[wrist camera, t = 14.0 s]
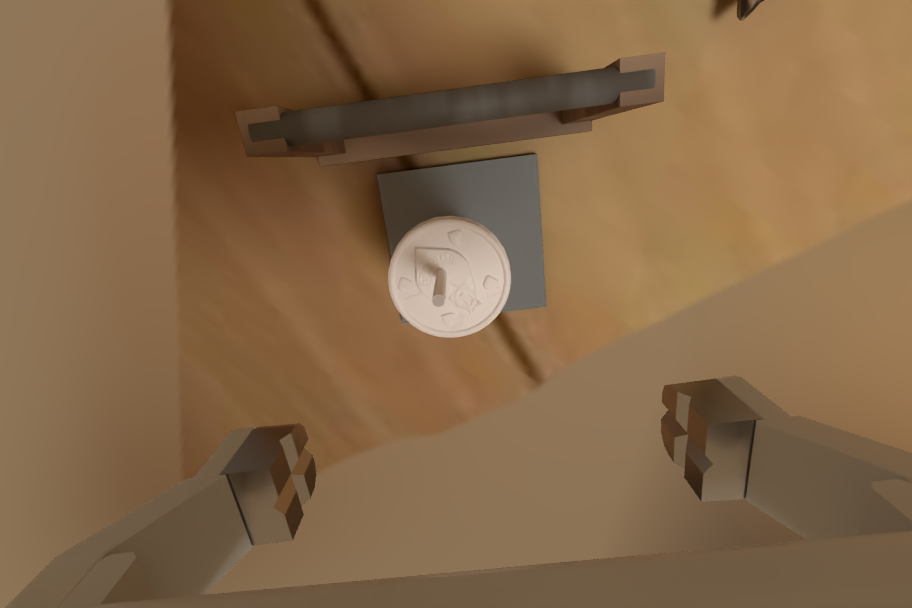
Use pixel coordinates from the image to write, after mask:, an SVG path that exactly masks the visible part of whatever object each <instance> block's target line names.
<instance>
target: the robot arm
mask: <svg viewBox="0 0 912 608" xmlns="http://www.w3.org/2000/svg"><path fill="white" fill-rule="evenodd" d="M662 403H663V404H664V405H665V406H666V408H667V409H668V411H667V412H666V414H665V415H664V416H663V418H662V419H661V434H662V439H663V443H664V446H665V449H666V451H667V453H668V455H669V456H670V458H671V459H672V461H673V462H674V463H676V464H678V465H679V466H681V467H683V468H685V472H684V478H685V479H686V481H687V482H688V484H689V485H690V486H691V488H692V489H693V491H694V492H695V494H696V495H697V496H698V498H699V499H700V500H701V502H704V501H719V500H734V499H746V501H747V502H749V503H750V504H752V505H753V506H755V507H756V508H758V509H759V510H761V511H763V512H764V513H766V514H767V515H769V516H770V517H772V518H774V519H775V520H777V521H778V522H780V523H781V524H783V525H785V526H786V527H788V528H789V529H791V530H792V531H794V532H796V533H797V534H799V535H800V536H802V537H803V538H805V539H806V540H803V541H793V542H782V543H772V544H760V545H749V546H738V547H727V548H715V549H705V550H693V551H682V552H671V553H660V554H650V555H638V556H626V557H616V558H604V559H593V560H582V561H571V562H560V563H549V564H538V565H528V566H516V567H506V568H495V569H484V570H473V571H463V572H452V573H441V574H429V575H418V576H407V577H396V578H386V579H375V580H363V581H352V582H342V583H330V584H319V585H308V586H297V587H286V588H274V589H263V590H252V591H241V592H231V593H220V594H208V595H206V594H207V593H208V592H209V591H210V590H211V589H212V588H213V587H214V586H215V585H216V584H217V583H218V582H219V581H220V580H221V579H222V578H223V577H224V576H225V575H226V574H227V573H228V572H229V571H230V570H231V569H232V568H233V567H234V566H235V565H236V564H237V563H238V562H239V561H240V560H241V559H242V558H243V557H244V556H245V555H246V554H247V553H248V552H249V551H250V550H251V549H252V546H253V545H260V544H269V543H277V542H285V541H292V540H293V539H294V537H295V534H296V532H297V530H298V527H299V525H300V523H301V519H302V518H303V515H304V514H303V510H302V507H301V506H302V505H303V504H305V503H306V502H307V501H308V500H309V499H311V496H312V494H313V491H314V488H315V482H316V465H315V461H314V457H313V455H312V454H311V453H310V452H308V451H307V450H306V449H305V448H304V447H305V445H306V443H307V441H308V437H307V433H306V430H305V427H304V426H302V425H301V424H300V423H298V424H287V425H275V426H263V427H251V428H243V429H237V430H234V431H231V432H230V434H229V435H228V436H227V437H226V439H225V440H224V441H223V442H222V444H221V445H220V446H219V447H218V448H217V450H216V451H215V452H214V453H213V455H212V456H211V457H210V458H209V460H208V461H207V462H206V463H205V464H204V466H203V467H202V468H201V469H200V471H199V472H198V473H197V474H196V476H195V477H194V478H188V479H185V480H183V481H182V482H180V483H179V484H177V485H175V486H174V487H172V488H170V489H168V490H167V491H165V492H163V493H162V494H160V495H158V496H157V497H155V498H154V499H152V500H150V501H148V502H147V503H145V504H143V505H142V506H140V507H138V508H137V509H135V510H133V511H132V512H130V513H128V514H127V515H125V516H124V517H122V518H120V519H118V520H117V521H115V522H113V523H112V524H110V525H108V526H107V527H105V528H103V529H102V530H100V531H98V532H97V533H95V534H93V535H92V536H90V537H88V538H87V539H85V540H83V541H82V542H80V543H78V544H77V545H75V546H73V547H72V548H70V549H69V550H67V551H65V552H63V553H62V554H60V555H58V556H57V557H55V558H54V559H53V560H52V561H51V562H50V563H49V564H48V565H47V566H46V567H45V568H44V569H43V570H42V571H41V572H40V573H39V574H38V575H37V576H36V577H35V578H34V579H33V580H32V581H31V582H30V583H29V584H28V585H27V586H26V587H25V588H24V589H23V590H22V591H21V592H20V594H18V595H17V596H16V597H15V599H14V600H13V601H11V602H10V603H9V604H8V605H7V607H6V608H912V453H910V452H907V451H904V450H901V449H898V448H895V447H892V446H889V445H886V444H883V443H880V442H877V441H874V440H871V439H868V438H865V437H862V436H859V435H856V434H853V433H850V432H847V431H843V430H841V429H838V428H834V427H832V426H828V425H825V424H822V423H819V422H816V421H813V420H810V419H807V418H804V417H801V416H793V417H791V416H790V415H789V414H787V413H786V412H785V411H783V410H782V409H781V408H780V407H779V406H777V405H776V404H775V403H773V402H772V401H771V400H769V399H768V398H767V397H766V396H765V395H763V394H762V393H761V392H759V391H758V390H757V389H756V388H754V387H753V386H752V385H751V384H749V383H748V382H747V381H745V380H744V379H743V378H741V377H738V376H729V377H722V378H715V379H710V380H702V381H694V382H687V383H678V384H671V385H665V386H664V389H663V392H662Z"/></svg>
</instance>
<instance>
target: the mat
mask: <svg viewBox="0 0 912 608" xmlns="http://www.w3.org/2000/svg"><path fill="white" fill-rule="evenodd" d="M377 180H378V186H379V192H380V197H381V203H382V209H383V214H384V220H385V226H386V231H387V237H388V243H389V249H390V254H391V259H392V256H393V254H394V251H395V249H396V246H397V245H398V243H399V242H400V241H401V239H402V238H403V237H404V236H405V234H406V233H407V232H408V231H410V230H411V229H412V228H414V227H415V226H417V225H418V224H419V223H421V222H424V221H427V220H429V219H432V218H434V217H442V216H457V217H463V218H469V219H471V220H473V221H475V222H477V223H479V224H482V225H483V226H485V227H486V228H487V229H488V230H489V231H491V232H492V233H493V234H494V235H495V236H496V237H497V239H498V240H499V241H500V243H501V244H502V246H503V247H504V249H505V252H506V255H507V257H508V260H509V263H510V271H511V285H510V291H509V295H508V298H507V301H506V303H505V305H504V307H503V308H502V310H501V312H505V311H513V310H522V309H531V308H539V307H546V295H545V279H544V262H543V245H542V228H541V211H540V194H539V177H538V160H537V154H532V155H524V156H516V157H508V158H501V159H493V160H485V161H478V162H470V163H462V164H455V165H447V166H439V167H432V168H424V169H416V170H408V171H401V172H393V173H385V174H378V175H377ZM401 317H402V322H403V323H409V322H408V321H407V320H406V319H405V318H404V317H403V316H402V315H401Z"/></svg>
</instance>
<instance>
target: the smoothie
mask: <svg viewBox="0 0 912 608" xmlns="http://www.w3.org/2000/svg"><path fill="white" fill-rule="evenodd" d="M388 284H389V290H390V294H391V297H392V300H393V302H394V304H395V306H396V308H397V309H398V311H399V312H400V314H401V315H402V316H403V317H404V318H405V319H406V320H407V321H408V322H409V323H410V324H411V325H413V326H414V327H416V328H417V329H419V330H421V331H423V332H425V333H428V334H431V335H434V336H439V337H461V336H466V335H469V334H472V333H474V332H477V331H479V330H481V329H482V328H484V327H485V326H487V325H488V324H489V323H491V322H492V321H493V320H494V319H495V318H496V317H497V315H498V314H499V313H500V312H501V310H502V308H503V307H504V305H505V303H506V301H507V298H508V295H509V291H510V285H511V271H510V263H509V260H508V257H507V255H506V252H505V249H504V247H503V246H502V244H501V243H500V241H499V240H498V239H497V237H496V236H495V235H494V234H493V233H492V232H491V231H489V230H488V229H487V228H486V227H485V226H483V225H482V224H479V223H477V222H475V221H473V220H471V219H469V218H463V217H457V216H442V217H434V218H432V219H429V220H427V221H424V222H421V223H419V224H418V225H417V226H415V227H414V228H412V229H411V230H410V231H408V232H407V233H406V234H405V236H404V237H403V238H402V239H401V241H400V242H399V243H398V245H397V246H396V249H395V251H394V254H393V256H392V259H391V262H390V266H389V272H388Z"/></svg>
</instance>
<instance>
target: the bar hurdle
mask: <svg viewBox="0 0 912 608" xmlns="http://www.w3.org/2000/svg"><path fill="white" fill-rule="evenodd" d="M664 76H665V52H663V53H656V54H648V55H641V56H634V57H627V58H620V59H618V60H617V61H615V62H613V63H612V64H610V65H608V66H607V67H605V68H602V69H595V70H587V71H580V72H573V73H566V74H558V75H551V76H544V77H537V78H529V79H522V80H515V81H507V82H500V83H493V84H486V85H478V86H471V87H464V88H457V89H449V90H442V91H435V92H427V93H420V94H413V95H406V96H398V97H391V98H384V99H377V100H369V101H362V102H355V103H347V104H340V105H333V106H326V107H318V108H311V109H304V110H296V111H293V110H290V109H286V108H283V107H279V106H272V107H265V108H258V109H250V110H243V111H236V112H235V114H236V118H237V121H238V125H239V129H240V133H241V136H242V140H243V144H244V148H245V151H246V155H247V157H318V159H319V163H320V166H329V165H337V164H344V163H352V162H360V161H367V160H375V159H382V158H390V157H398V156H405V155H413V154H420V153H428V152H436V151H443V150H451V149H458V148H466V147H474V146H481V145H489V144H496V143H504V142H512V141H519V140H527V139H534V138H542V137H550V136H557V135H565V134H572V133H580V132H587V131H592V120H595V119H599V118H603V117H606V116H610V115H614V114H618V113H621V112H625V111H629V110H632V109H636V108H640V107H644V106H647V105H651V104H655V103H658V102H662V101H664Z"/></svg>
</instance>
